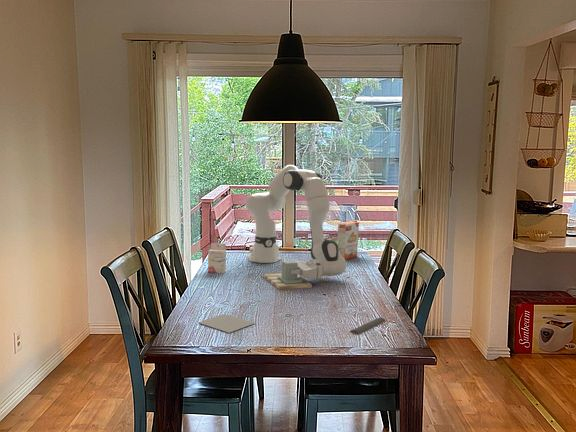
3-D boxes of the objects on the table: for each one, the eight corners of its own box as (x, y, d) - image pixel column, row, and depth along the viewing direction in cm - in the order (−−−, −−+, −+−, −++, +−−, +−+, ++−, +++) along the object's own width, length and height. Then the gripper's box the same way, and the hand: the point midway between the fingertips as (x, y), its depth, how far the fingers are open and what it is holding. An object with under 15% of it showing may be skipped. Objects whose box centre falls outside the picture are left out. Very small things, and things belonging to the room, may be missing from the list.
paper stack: (240, 310, 230) (240, 308, 230) (287, 323, 215) (287, 321, 215) (197, 324, 212) (197, 322, 212) (246, 340, 197) (246, 338, 197)
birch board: (263, 276, 283) (263, 273, 283) (292, 274, 289) (292, 271, 289) (279, 290, 259) (279, 286, 259) (311, 287, 265) (311, 284, 264)
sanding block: (277, 278, 274) (277, 259, 273) (292, 277, 277) (293, 258, 276) (285, 284, 263) (286, 265, 262) (301, 283, 266) (302, 264, 264)
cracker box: (345, 260, 323) (346, 224, 320) (336, 258, 327) (337, 223, 323) (358, 256, 334) (359, 221, 331) (349, 255, 337) (350, 220, 334)
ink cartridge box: (207, 272, 290) (207, 244, 287) (210, 270, 295) (210, 242, 292) (224, 273, 289) (224, 245, 287) (226, 271, 294) (226, 243, 292)
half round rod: (386, 322, 218) (386, 318, 217) (358, 336, 203) (359, 331, 203) (376, 320, 220) (377, 316, 220) (349, 333, 206) (349, 328, 205)
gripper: (306, 257, 283) (280, 258, 278) (322, 266, 264) (295, 268, 259) (306, 269, 284) (280, 271, 279) (322, 279, 265) (294, 281, 260)
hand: (287, 270), depth 269 cm, fingers closed on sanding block, 6 cm apart
